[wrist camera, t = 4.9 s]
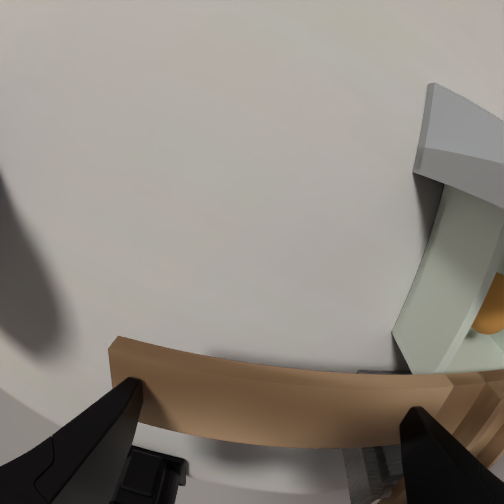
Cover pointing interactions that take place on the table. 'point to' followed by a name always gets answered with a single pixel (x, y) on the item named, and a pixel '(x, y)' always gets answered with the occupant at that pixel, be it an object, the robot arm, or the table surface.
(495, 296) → the ball
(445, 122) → the backboard
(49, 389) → the table surface
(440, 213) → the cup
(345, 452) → the fulcrum
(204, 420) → the lever
